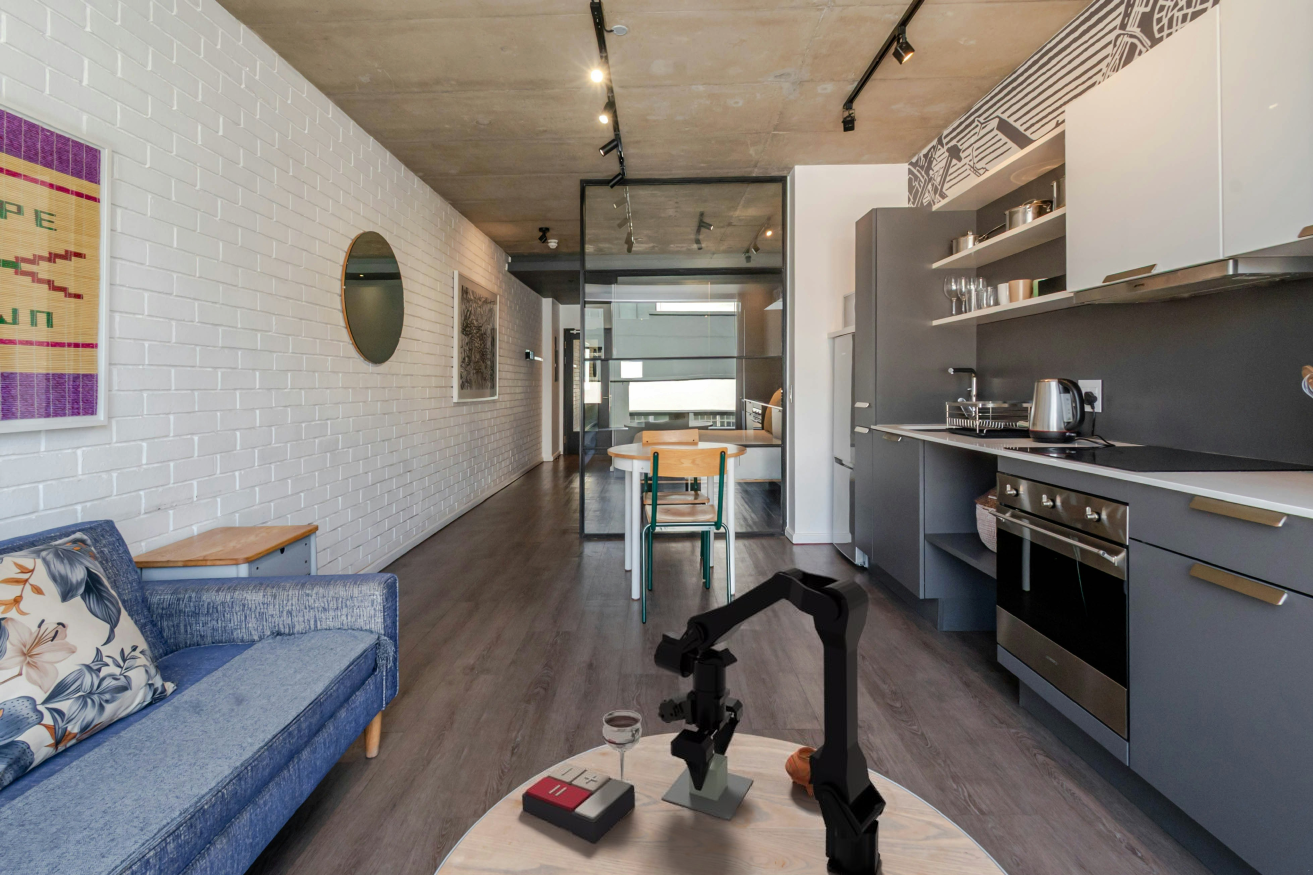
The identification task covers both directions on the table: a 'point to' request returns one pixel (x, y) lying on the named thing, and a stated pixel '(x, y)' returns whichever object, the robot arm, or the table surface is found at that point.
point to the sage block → (713, 779)
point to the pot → (800, 767)
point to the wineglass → (622, 733)
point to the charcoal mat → (718, 808)
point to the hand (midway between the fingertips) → (708, 775)
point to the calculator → (580, 801)
